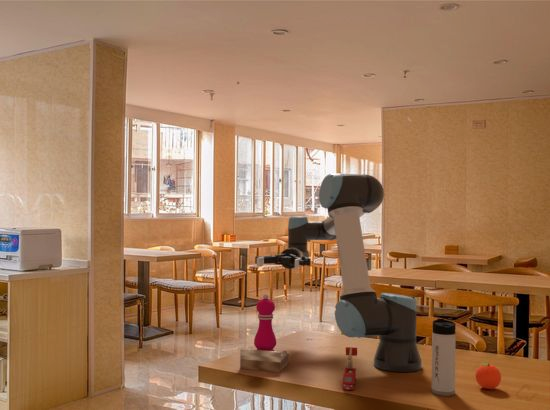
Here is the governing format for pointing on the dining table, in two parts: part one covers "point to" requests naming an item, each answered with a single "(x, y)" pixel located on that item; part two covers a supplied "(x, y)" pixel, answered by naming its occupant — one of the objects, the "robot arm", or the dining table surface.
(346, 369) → the toy fire truck
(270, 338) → the pepper mill
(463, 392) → the dining table surface
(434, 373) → the travel mug
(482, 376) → the clementine
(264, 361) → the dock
